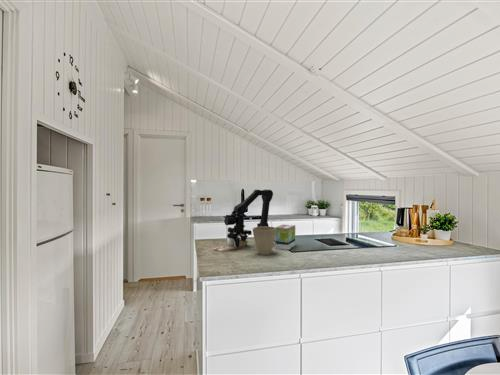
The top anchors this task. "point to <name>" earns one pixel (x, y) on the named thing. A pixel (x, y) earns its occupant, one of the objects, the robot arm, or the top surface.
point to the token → (240, 245)
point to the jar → (230, 242)
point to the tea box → (285, 237)
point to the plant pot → (264, 239)
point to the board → (223, 248)
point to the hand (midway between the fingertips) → (239, 246)
